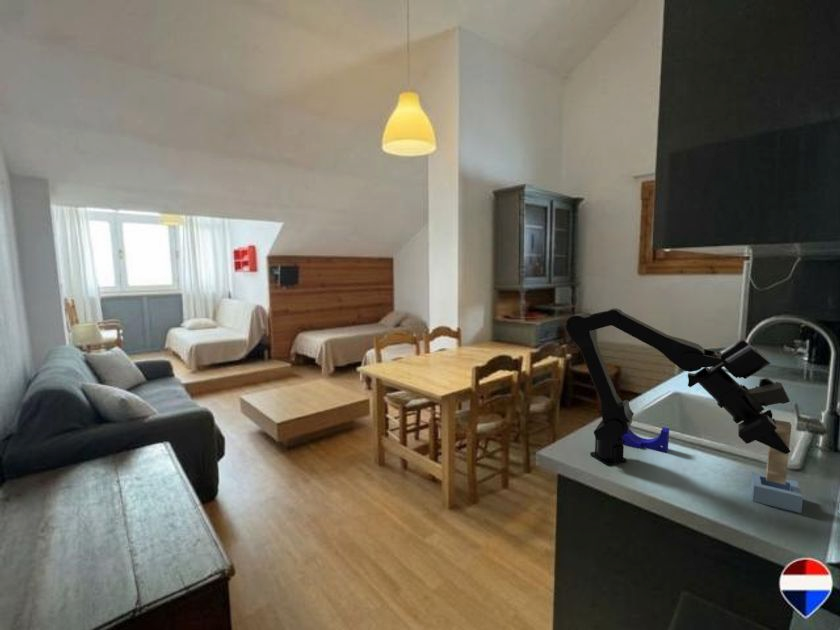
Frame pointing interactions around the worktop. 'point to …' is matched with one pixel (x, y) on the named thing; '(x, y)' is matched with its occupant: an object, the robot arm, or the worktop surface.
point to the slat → (779, 455)
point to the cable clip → (648, 440)
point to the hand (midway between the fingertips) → (787, 450)
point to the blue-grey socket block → (776, 493)
